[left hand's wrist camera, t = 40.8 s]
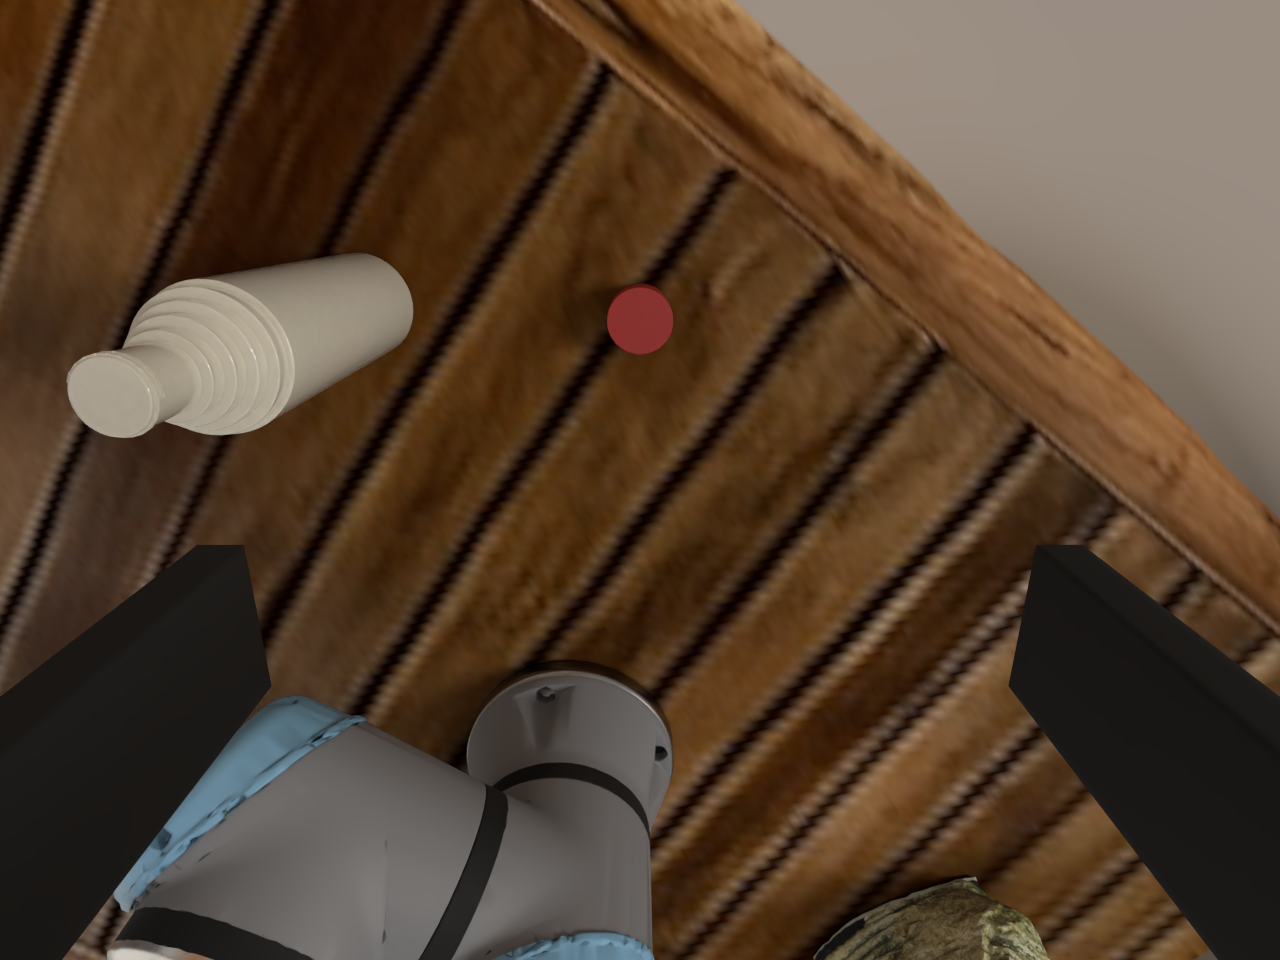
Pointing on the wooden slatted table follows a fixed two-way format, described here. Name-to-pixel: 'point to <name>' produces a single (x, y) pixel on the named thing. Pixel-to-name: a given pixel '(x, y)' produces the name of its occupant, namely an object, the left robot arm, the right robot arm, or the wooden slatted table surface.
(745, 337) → the wooden slatted table surface
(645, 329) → the cap
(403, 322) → the bottle
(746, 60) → the wooden slatted table surface
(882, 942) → the fossil
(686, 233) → the wooden slatted table surface
